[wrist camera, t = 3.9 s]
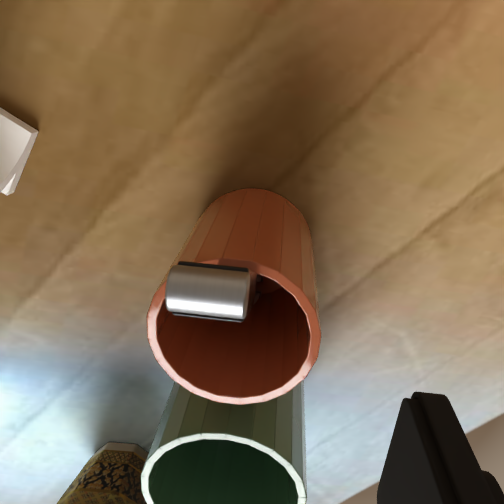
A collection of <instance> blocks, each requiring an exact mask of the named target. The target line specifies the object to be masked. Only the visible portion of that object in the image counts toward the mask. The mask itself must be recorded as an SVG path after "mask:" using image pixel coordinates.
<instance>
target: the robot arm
mask: <svg viewBox="0 0 504 504" xmlns="http://www.w3.org/2000/svg"><path fill="white" fill-rule="evenodd" d="M377 504H504V494H503V492H502V490H501V488H500V486H499V484H498V482H497V481H496V479H495V477H494V476H492V474H490V473H489V472H487V471H482V470H481V468H480V466H479V464H478V462H477V459H476V457H475V455H474V453H473V451H472V449H471V447H470V444H469V442H468V440H467V438H466V436H465V434H464V431H463V429H462V427H461V425H460V423H459V421H458V418H457V416H456V414H455V412H454V410H453V408H452V406H451V403H450V401H449V400H448V398H447V397H446V396H445V395H442V394H433V393H424V392H414V393H413V394H412V397H411V399H410V398H404V399H403V401H402V403H401V407H400V411H399V414H398V418H397V421H396V425H395V429H394V432H393V436H392V439H391V443H390V447H389V450H388V454H387V457H386V461H385V465H384V468H383V472H382V475H381V479H380V483H379V486H378V491H377Z"/></svg>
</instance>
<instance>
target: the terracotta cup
mask: <svg viewBox="0 0 504 504" xmlns="http://www.w3.org/2000/svg"><path fill="white" fill-rule="evenodd" d="M179 261H187V262H197V263H207V264H216V265H226V266H236V267H245V268H248V269H250V270H252V271H253V272H255V273H257V275H259V276H263V282H256V290H255V291H261V292H262V293H261V297H260V299H258V300H257V301H256V303H255V304H254V307H253V308H252V310H251V311H250V313H249V314H248V315H247V317H246V318H245V320H244V321H243V322H241V323H239V322H230V321H221V320H212V319H203V318H194V317H185V316H176V315H173V314H172V311H169V310H167V308H166V304H165V289H166V282H167V277H168V274H169V271H170V269H171V267H172V266H173V265H178V262H179ZM171 267H170V269H169V270H168V272H167V274H166V275H165V277H164V279H163V280H162V282H161V284H160V286H159V287H158V289H157V291H156V292H155V294H154V296H153V299H152V302H151V305H150V308H149V310H148V313H147V338H148V341H149V344H150V346H151V349H152V351H153V354H154V356H155V359H156V360H157V362H158V363H159V364H160V365H161V367H162V368H163V369H164V370H165V372H166V373H167V374H168V375H169V376H170V378H172V379H173V380H174V381H175V382H177V383H178V384H180V385H181V386H183V387H184V388H186V389H187V390H188V391H190V392H192V393H193V394H196V395H199V396H201V397H204V398H207V399H209V400H212V401H216V402H221V403H229V404H238V405H240V404H241V405H244V404H252V403H260V402H265V401H269V400H271V399H273V398H276V397H278V396H281V395H283V394H286V393H287V392H289V391H290V390H291V389H293V388H294V387H295V386H296V385H298V384H299V383H300V382H301V381H302V380H304V379H305V377H306V376H307V375H308V373H309V371H310V370H311V368H312V366H313V365H314V363H315V361H316V360H317V357H318V353H319V347H320V341H321V326H320V316H319V306H318V295H317V285H316V274H315V264H314V253H313V244H312V239H311V233H310V229H309V227H308V224H307V222H306V220H305V218H304V216H303V215H302V214H301V212H300V211H299V210H298V209H297V208H296V207H295V206H294V204H292V203H291V202H290V201H288V200H287V199H286V198H284V197H282V196H281V195H278V194H276V193H274V192H271V191H267V190H263V189H254V188H247V189H239V190H235V191H232V192H229V193H226V194H224V195H222V196H221V197H219V198H217V199H216V200H215V201H213V202H212V203H211V204H210V205H209V206H208V207H207V208H206V210H205V211H204V212H203V214H202V215H201V216H200V217H199V219H198V221H197V223H196V224H195V226H194V228H193V229H192V231H191V233H190V235H189V236H188V238H187V240H186V241H185V243H184V245H183V246H182V248H181V250H180V252H179V253H178V255H177V257H176V258H175V260H174V262H173V263H172V265H171Z"/></svg>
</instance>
